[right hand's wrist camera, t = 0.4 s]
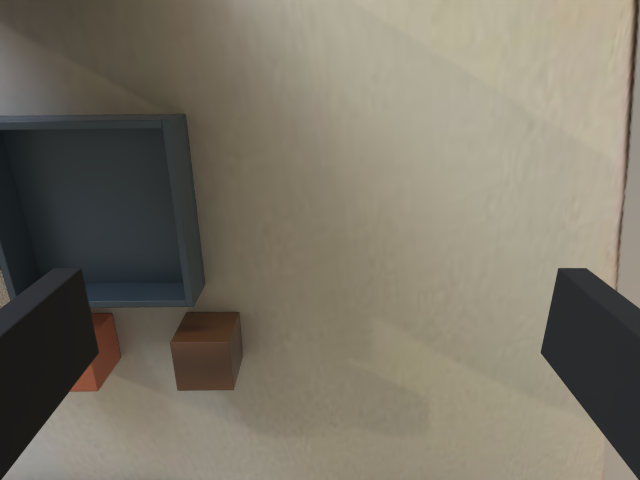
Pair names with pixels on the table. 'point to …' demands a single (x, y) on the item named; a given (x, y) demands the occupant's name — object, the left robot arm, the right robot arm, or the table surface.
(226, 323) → the walnut cube
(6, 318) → the right robot arm
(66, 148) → the tray
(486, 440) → the table surface
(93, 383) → the terracotta cube
